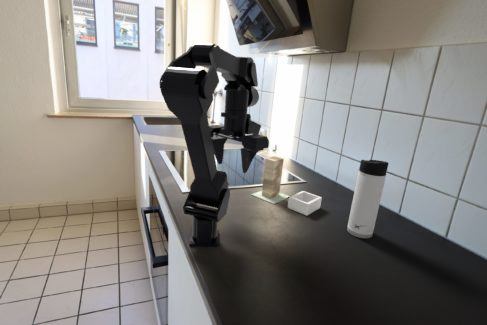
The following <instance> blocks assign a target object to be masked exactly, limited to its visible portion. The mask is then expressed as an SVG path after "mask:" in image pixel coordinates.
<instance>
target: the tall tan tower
mask: <svg viewBox="0 0 487 325" xmlns="http://www.w3.org/2000/svg"><path fill="white" fill-rule="evenodd" d="M264 159H265V161H264V169H263V178H262V179H263V181H262V189H261V191H262V196H264V197H267V198H269V199H271V198H274V197H276V196H278V195H279V193H281V184H282V176H283V168H284V160H285V158H282V157H279V156H276V155H274V156H270V157H265V158H264Z"/></svg>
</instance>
